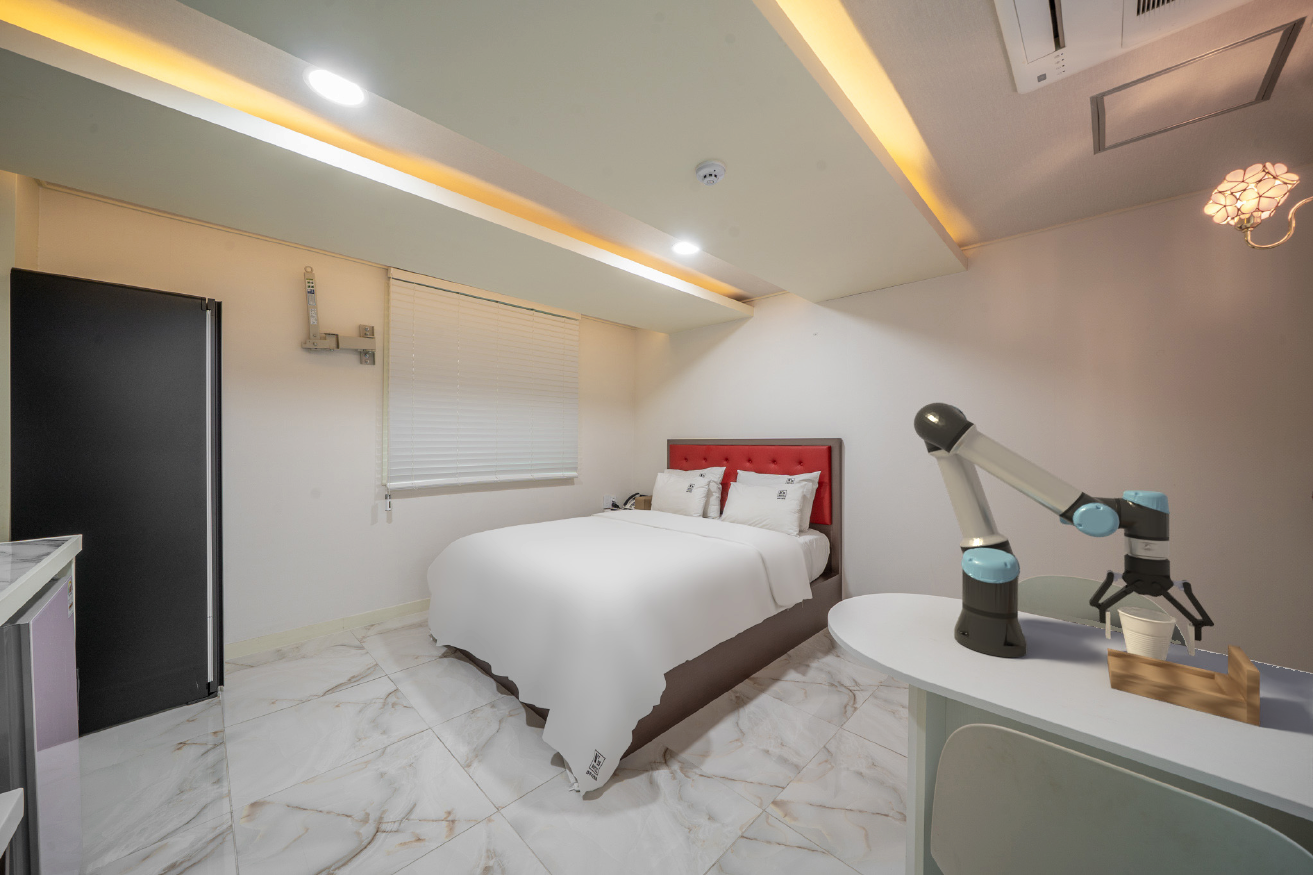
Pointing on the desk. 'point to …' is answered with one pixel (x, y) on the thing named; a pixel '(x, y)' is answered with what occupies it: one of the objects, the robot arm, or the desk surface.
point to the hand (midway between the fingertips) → (1147, 645)
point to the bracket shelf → (1191, 683)
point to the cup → (1147, 631)
